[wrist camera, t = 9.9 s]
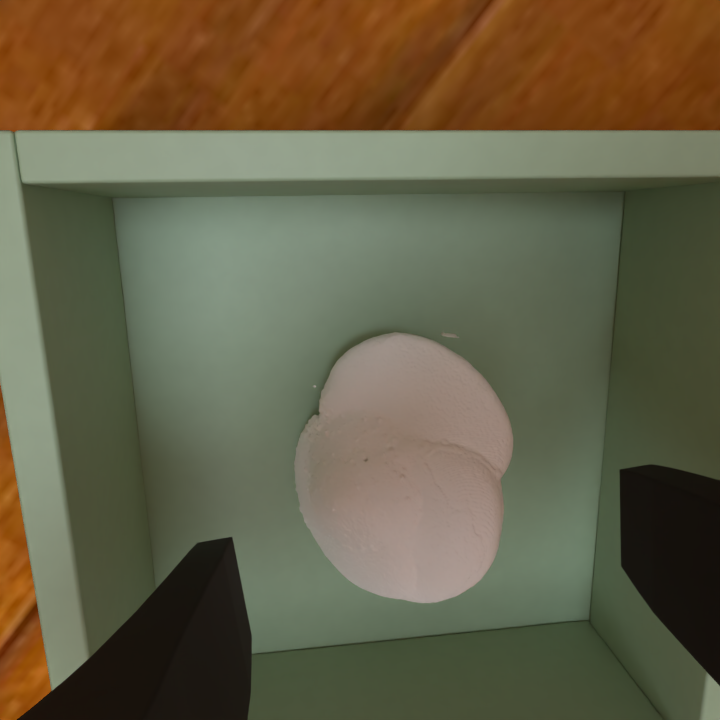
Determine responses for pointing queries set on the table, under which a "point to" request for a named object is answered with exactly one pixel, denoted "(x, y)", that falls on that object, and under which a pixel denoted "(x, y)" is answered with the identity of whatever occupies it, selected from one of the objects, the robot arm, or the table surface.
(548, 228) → the bin
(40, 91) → the table surface
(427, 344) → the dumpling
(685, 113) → the table surface
